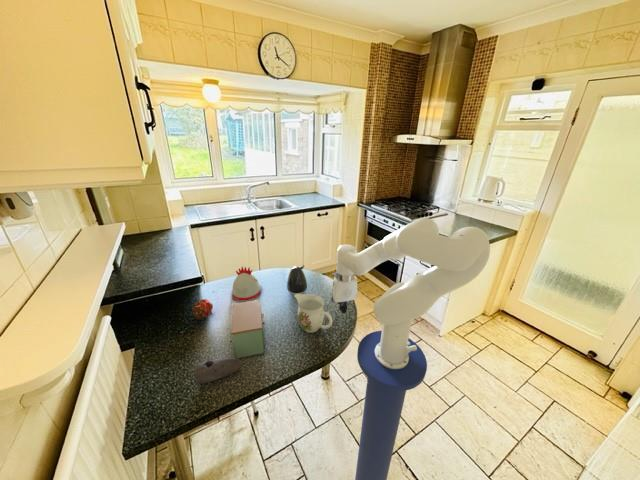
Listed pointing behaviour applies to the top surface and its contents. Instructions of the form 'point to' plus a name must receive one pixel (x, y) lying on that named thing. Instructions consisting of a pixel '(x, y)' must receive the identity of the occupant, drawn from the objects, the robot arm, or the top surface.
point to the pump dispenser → (296, 281)
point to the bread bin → (247, 328)
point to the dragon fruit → (202, 309)
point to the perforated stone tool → (216, 369)
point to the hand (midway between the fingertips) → (342, 311)
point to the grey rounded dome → (245, 285)
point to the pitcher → (311, 312)
